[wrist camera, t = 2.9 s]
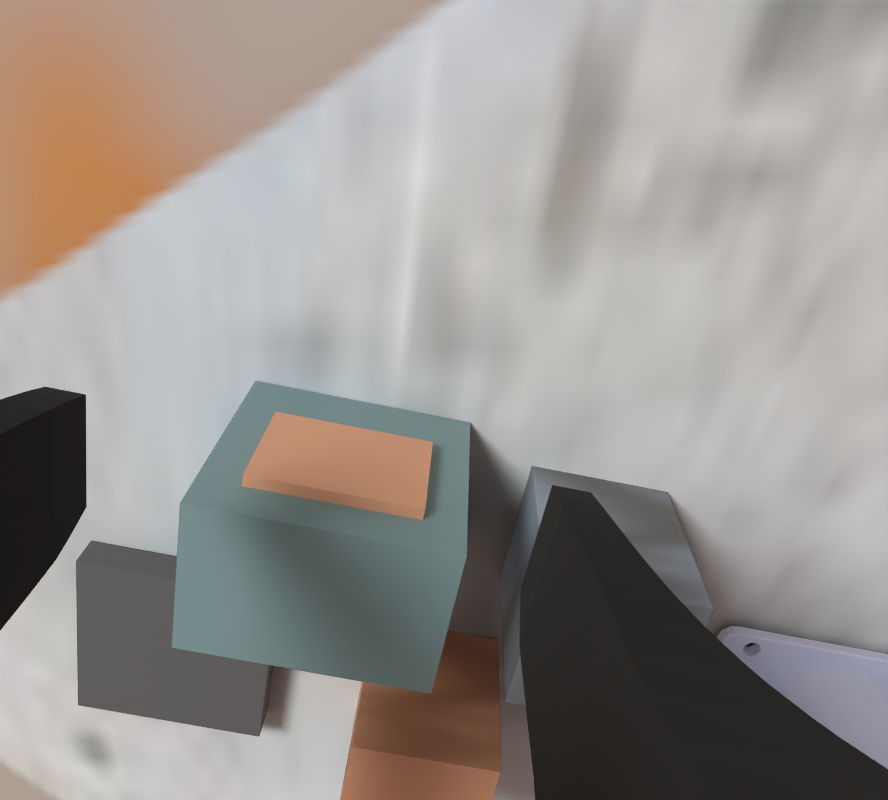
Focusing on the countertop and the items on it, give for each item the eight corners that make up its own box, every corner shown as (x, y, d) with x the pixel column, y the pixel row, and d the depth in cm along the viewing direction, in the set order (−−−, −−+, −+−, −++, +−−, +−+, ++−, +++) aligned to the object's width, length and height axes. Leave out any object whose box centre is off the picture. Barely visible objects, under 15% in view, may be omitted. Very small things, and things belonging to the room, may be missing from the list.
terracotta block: (497, 638, 25) (501, 772, 21) (472, 725, 27) (470, 866, 23) (374, 616, 25) (351, 746, 21) (357, 705, 27) (332, 843, 22)
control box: (472, 413, 22) (469, 545, 16) (438, 554, 24) (426, 712, 18) (256, 370, 21) (180, 491, 16) (241, 517, 24) (170, 666, 18)
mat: (284, 576, 24) (277, 597, 24) (266, 712, 27) (259, 736, 26) (91, 540, 24) (76, 561, 23) (91, 681, 27) (77, 705, 26)
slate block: (667, 491, 23) (714, 609, 18) (626, 598, 24) (659, 730, 20) (531, 465, 22) (545, 577, 18) (500, 575, 24) (504, 703, 20)
